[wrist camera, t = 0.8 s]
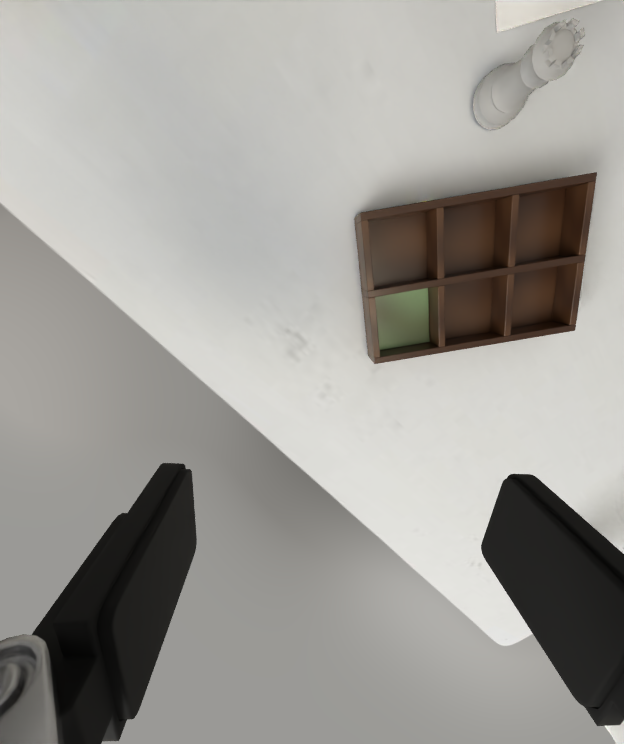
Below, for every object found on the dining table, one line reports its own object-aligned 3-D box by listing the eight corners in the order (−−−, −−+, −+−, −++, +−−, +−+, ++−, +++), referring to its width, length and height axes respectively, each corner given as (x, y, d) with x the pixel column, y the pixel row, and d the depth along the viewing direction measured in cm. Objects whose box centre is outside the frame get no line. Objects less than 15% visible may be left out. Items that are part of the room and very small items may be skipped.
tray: (354, 217, 31) (360, 212, 28) (568, 181, 30) (597, 171, 27) (368, 356, 36) (374, 364, 33) (552, 325, 35) (575, 330, 32)
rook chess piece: (515, 65, 27) (599, -14, 20) (519, 122, 29) (599, 70, 21) (466, 82, 27) (531, 12, 20) (473, 139, 29) (535, 93, 21)
